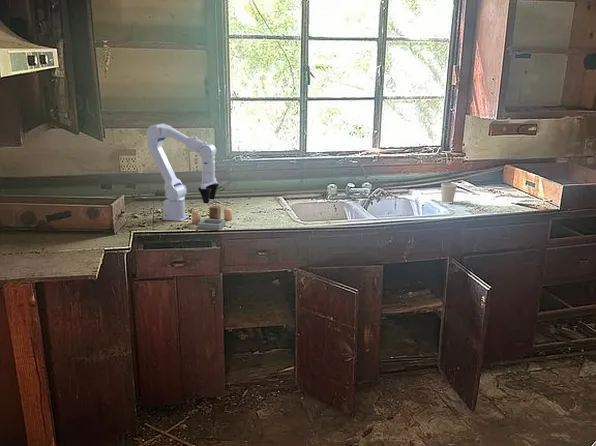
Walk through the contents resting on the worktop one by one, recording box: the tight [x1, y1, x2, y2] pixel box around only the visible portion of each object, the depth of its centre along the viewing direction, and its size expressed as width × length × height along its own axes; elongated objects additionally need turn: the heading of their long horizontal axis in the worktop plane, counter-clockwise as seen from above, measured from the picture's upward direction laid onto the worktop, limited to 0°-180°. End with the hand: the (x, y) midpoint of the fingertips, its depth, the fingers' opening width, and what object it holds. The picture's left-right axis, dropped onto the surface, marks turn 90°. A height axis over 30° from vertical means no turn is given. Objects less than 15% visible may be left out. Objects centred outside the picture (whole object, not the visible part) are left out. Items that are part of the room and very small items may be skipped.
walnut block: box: [208, 205, 222, 220], centre depth 264 cm, size 4×4×6 cm
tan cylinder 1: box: [191, 210, 201, 225], centre depth 258 cm, size 4×4×5 cm
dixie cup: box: [440, 182, 458, 203], centre depth 302 cm, size 8×8×10 cm
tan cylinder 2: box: [223, 207, 233, 222], centre depth 264 cm, size 4×4×5 cm
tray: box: [197, 218, 226, 231], centre depth 253 cm, size 10×8×2 cm
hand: (209, 201), depth 258 cm, fingers open, 7 cm apart
